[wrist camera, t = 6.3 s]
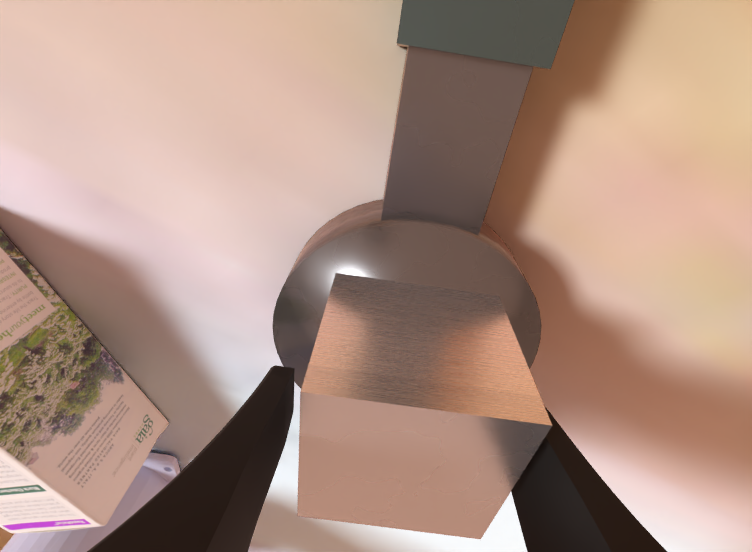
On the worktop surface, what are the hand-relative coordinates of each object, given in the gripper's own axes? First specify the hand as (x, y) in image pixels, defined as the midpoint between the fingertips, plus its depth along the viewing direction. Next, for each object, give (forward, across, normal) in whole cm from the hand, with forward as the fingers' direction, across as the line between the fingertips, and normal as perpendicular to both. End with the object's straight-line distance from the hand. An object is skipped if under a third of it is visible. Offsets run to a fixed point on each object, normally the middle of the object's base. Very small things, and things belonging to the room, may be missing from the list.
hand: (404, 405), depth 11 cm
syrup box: (+2, +20, -2) cm, 20 cm away
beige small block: (+3, 0, 0) cm, 3 cm away
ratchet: (+5, 0, -5) cm, 7 cm away
